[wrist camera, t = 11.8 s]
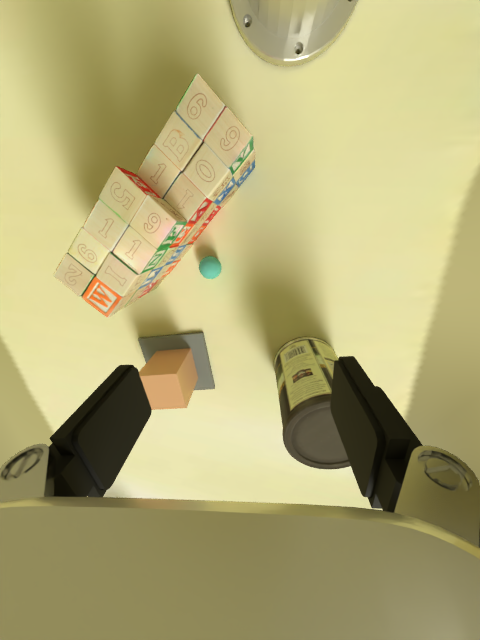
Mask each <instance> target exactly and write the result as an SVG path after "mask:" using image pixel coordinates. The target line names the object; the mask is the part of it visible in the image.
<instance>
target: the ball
mask: <svg viewBox="0 0 480 640" xmlns="http://www.w3.org/2000/svg"><path fill="white" fill-rule="evenodd" d="M199 270H200V273H201V274H202V275H203V276H204V277H205V278H208V279H213V278H216V277H217V276H218V275H219V274H220V272H221V264H220V262H219V260H218V259H216V258H215V257H212V256H208V257H205V258H203V259H202V260H201V262H200V264H199Z"/></svg>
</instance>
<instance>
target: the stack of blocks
mask: <svg viewBox="0 0 480 640" xmlns="http://www.w3.org/2000/svg"><path fill="white" fill-rule="evenodd" d="M254 168H255V149H254V144H253V136H252V135H251V134H250V133H249V131H248V130H247V129H246V128H245V127H244V126H243V124H242V123H241V122H240V121H239V120H238V119H237V117H236V116H235V115H234V114H233V113H232V112H231V110H230V109H229V108H228V107H226V106H225V105H224V103H223V102H222V101H221V100H220V98H219V97H218V96H217V95H216V94H215V92H214V91H213V90H212V89H211V88H210V87H209V86H208V84H207V83H206V82H205V81H204V80H203V78H202V77H201V76H200V75H199V74H198V73H197V74H196V75H195V77H194V79H193V80H192V82H191V84H190V85H189V87H188V89H187V90H186V92H185V94H184V95H183V97H182V99H181V100H180V102H179V104H178V106H177V108H176V111H173V113H172V114H171V116H170V118H169V119H168V121H167V122H166V124H165V126H164V127H163V129H162V131H161V133H160V134H159V136H158V137H157V139H156V141H155V143H154V145H153V146H152V147H151V148H150V150H149V152H148V153H147V155H146V157H145V159H144V161H143V162H142V164H141V166H140V167H139V169H138V172H137V175H136V174H134V173H132V172H129V171H127V170H125V169H122V168H120V167H117V166H115V168H114V170H113V172H112V173H111V175H110V177H109V179H108V181H107V183H106V184H105V186H104V188H103V190H102V192H101V193H100V195H99V199H98V201H97V202H96V204H95V206H94V207H93V209H92V211H91V213H90V215H89V217H88V218H87V220H86V222H85V224H84V226H83V227H81V229H80V231H79V232H78V234H77V236H76V238H75V239H74V241H73V243H72V245H71V246H70V248H69V250H68V253H66V254H65V256H64V257H63V259H62V261H61V262H60V264H59V266H58V267H57V269H56V271H55V273H54V275H53V276H54V277H55V278H56V279H58V280H59V281H60V282H62V283H63V284H64V285H65V286H67V287H68V288H69V289H71V290H72V291H73V292H74V293H75V294H77V295H78V296H82V298H83V299H84V300H85V301H86V302H87V303H89V304H90V305H91V306H93V307H94V308H95V309H97V310H98V311H99V312H101V313H102V314H103V315H105V316H106V317H110V316H111V315H113V314H115V313H116V312H118V311H119V310H121V309H122V308H124V307H126V306H128V305H129V304H131V303H133V302H134V301H136V300H137V299H138V298H140V297H142V296H143V295H145V294H146V293H149V292H151V291H152V290H154V289H155V288H157V287H158V285H159V284H160V283H161V282H162V281H163V279H164V278H165V277H166V276H167V275H168V274H169V273H170V272H171V271H172V269H173V268H174V267H175V266H176V264H177V263H178V262H179V261H180V259H181V258H182V257H183V256H184V255H185V254H186V253H187V251H188V250H189V249H190V248H191V246H192V245H193V243H194V241H195V240H196V239H197V238H198V236H199V235H200V234H201V233H202V231H203V230H204V229H205V228H206V226H207V224H208V223H209V222H210V221H211V220H212V219H213V217H214V216H215V215H216V214H217V212H218V211H219V210H220V209H221V207H223V206H224V205H225V204H226V203H227V202H228V200H229V199H230V198H231V197H232V196H233V194H234V193H235V192H236V191H237V189H238V187H239V186H240V185H241V184H242V183H243V181H244V180H245V179H246V178H247V177H248V175H249V174H250V173H251V172H252V170H253V169H254Z"/></svg>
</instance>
